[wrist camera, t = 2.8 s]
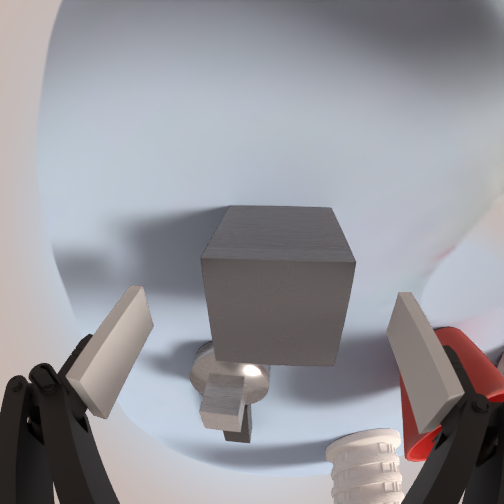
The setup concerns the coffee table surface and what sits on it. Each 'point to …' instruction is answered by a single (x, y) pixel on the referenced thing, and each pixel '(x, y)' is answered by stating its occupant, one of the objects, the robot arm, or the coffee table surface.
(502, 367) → the die
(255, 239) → the grey wood-grain cube
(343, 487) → the decorative container
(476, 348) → the flower pot
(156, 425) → the coffee table surface
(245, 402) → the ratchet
